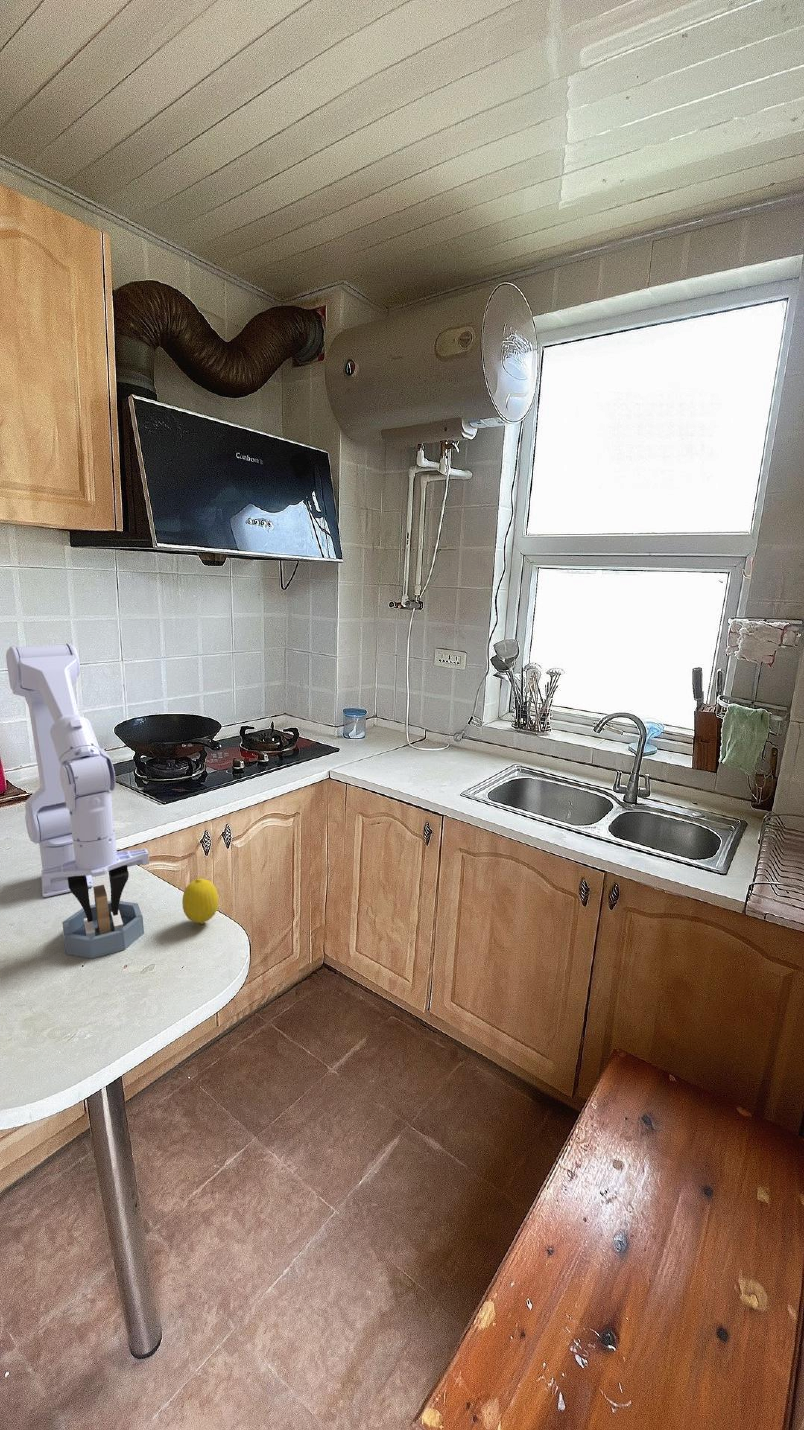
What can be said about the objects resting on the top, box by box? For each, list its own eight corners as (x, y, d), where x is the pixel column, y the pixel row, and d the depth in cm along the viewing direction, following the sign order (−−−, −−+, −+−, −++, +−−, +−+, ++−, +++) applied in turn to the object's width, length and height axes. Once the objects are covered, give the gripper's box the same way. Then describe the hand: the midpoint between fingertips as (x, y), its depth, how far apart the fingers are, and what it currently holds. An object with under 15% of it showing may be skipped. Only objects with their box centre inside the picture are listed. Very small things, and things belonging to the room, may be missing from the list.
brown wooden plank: (97, 927, 96) (93, 886, 94) (108, 924, 96) (103, 884, 95) (100, 939, 92) (96, 898, 91) (111, 936, 93) (106, 895, 92)
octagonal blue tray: (63, 929, 96) (61, 912, 96) (136, 910, 102) (135, 894, 101) (67, 965, 87) (65, 947, 87) (147, 943, 93) (146, 925, 92)
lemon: (223, 914, 101) (220, 870, 100) (214, 932, 96) (211, 886, 94) (190, 914, 101) (187, 870, 99) (179, 933, 96) (175, 887, 94)
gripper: (38, 854, 84) (49, 942, 87) (149, 833, 91) (156, 914, 94) (37, 836, 90) (48, 919, 93) (142, 818, 97) (148, 894, 100)
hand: (102, 915), depth 94 cm, fingers open, 3 cm apart
